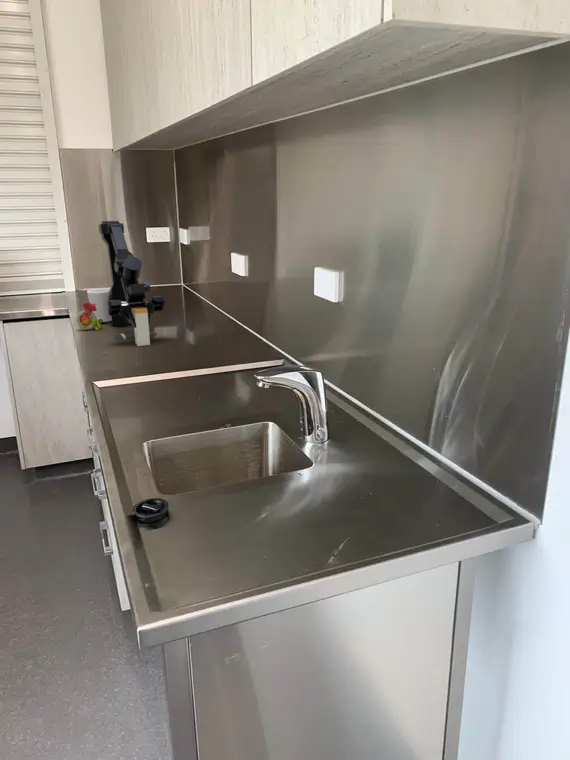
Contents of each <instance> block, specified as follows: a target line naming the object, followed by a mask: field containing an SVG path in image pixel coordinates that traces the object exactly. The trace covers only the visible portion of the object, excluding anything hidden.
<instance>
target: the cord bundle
mask: <svg viewBox="0 0 570 760" xmlns="http://www.w3.org/2000/svg"><path fill="white" fill-rule="evenodd" d="M157 335H158V334H157V333H156V332H155V331H154V330H151V331H150V330H149V337H153V336H157ZM113 339H115V340H116V341H117V340H118V341H119V340H127V339H135V332H132V333H125V334H124V333H120V334H116V335H115V334H114V335H113Z"/></svg>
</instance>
